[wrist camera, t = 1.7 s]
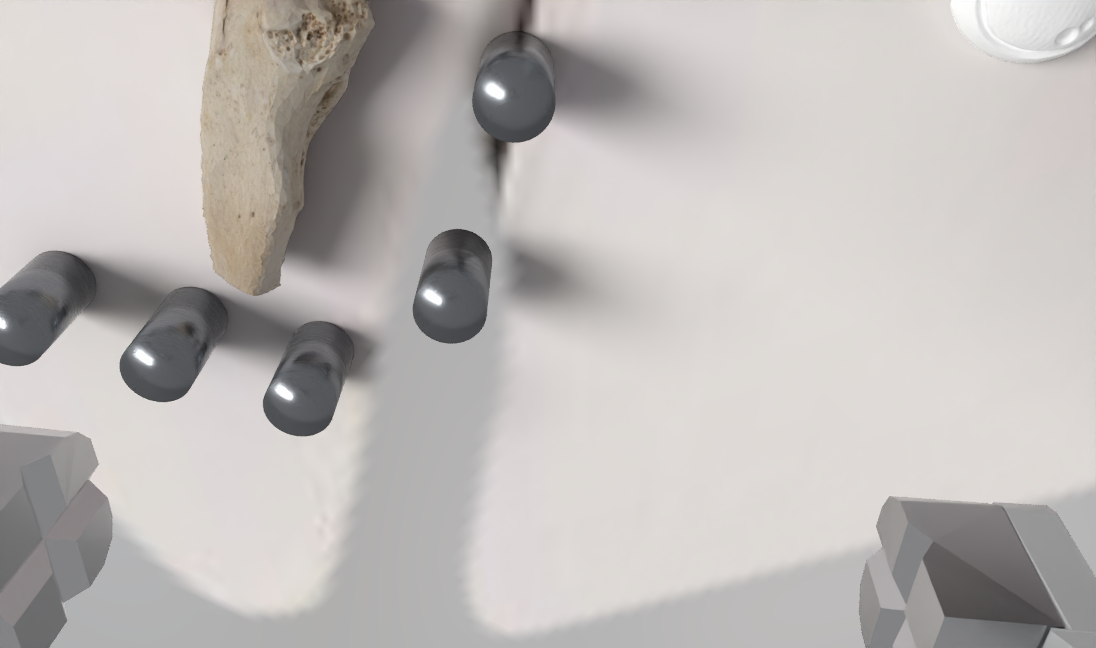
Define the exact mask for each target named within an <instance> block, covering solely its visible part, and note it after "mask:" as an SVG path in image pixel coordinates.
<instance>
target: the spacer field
mask: <svg viewBox="0 0 1096 648" xmlns="http://www.w3.org/2000/svg"><path fill="white" fill-rule="evenodd" d="M472 103H473V110H474V114H475V116H476V119H477V121H478V122H479V124H480V125H481V127H482V128H483V129H484V130H485V131H486V132H487V133H488V134H490V135H491V136H493V137H495V138H497V139H499V140H502V141H505V142H512V143H514V142H524V141H527V140H530V139H532V138H534V137H536V136H538V135H539V134H540V133H541V132H543V131H544V130H545V129H546V127H547V126H548V125H549V123H550V121H551V119H552V117H553V114H554V110H555V88H554V72H553V62H552V58H551V55H550V53H549V51H548V49H547V47H546V46H545V45H544V44H543V43H542V42H541V41H540V40H539V39H538V38H536V37H535V36H533V35H531V34H528V33H525V32H519V31H513V32H507V33H504V34H502V35H499V36H498V37H496V38H495V39H493V40H492V41H491V42H490V43H489V44H488V46H487V47H486V48H485V50H484V52H483V54H482V57H481V61H480V66H479V70H478V74H477V79H476V83H475V87H474V92H473V99H472ZM491 267H492V255H491V251H490V249H489V247H488V245H487V244H486V242H485V241H484V240H483V239H482V238H481V237H479V236H478V235H477V234H475V233H473V232H470V231H467V230H462V229H453V230H448V231H445V232H443V233H441V234H439V235H438V236H437V237H435V238H434V239H433V240H432V241H431V243H430V244H429V246H428V249H427V252H426V256H425V260H424V264H423V268H422V272H421V276H420V280H419V284H418V287H417V291H416V296H415V299H414V304H413V315H414V319H415V322H416V323H417V325H418V327H419V328H420V330H421V331H422V332H424V334H426V335H427V336H428V337H430V338H432V339H434V340H436V341H439V342H443V343H460V342H464V341H466V340H469V339H471V338H472V337H474V336H475V335H476V334H477V333H479V331H480V330H481V329H482V327H483V326H484V323H485V321H486V316H487V306H488V296H489V287H490V277H491ZM95 293H96V282H95V278H94V276H93V274H92V272H91V271H90V269H89V268H88V267H87V266H86V265H85V264H84V263H83V262H82V261H81V260H80V259H78V258H76V257H75V256H73V255H71V254H68V253H65V252H60V251H48V252H44V253H42V254H39V255H38V256H36V257H35V258H34V259H33V260H32V261H31V262H29V263H28V264H27V265H26V266H25V267H24V268H23V269H22V270H20V271H19V272H18V273H17V274H16V275H15V276H14V277H12V278H11V279H10V280H9V281H8V282H7V283H6V284H4V285H3V286H2V287H1V288H0V363H2V364H5V365H10V366H24V365H28V364H31V363H33V362H35V361H36V360H37V359H39V358H40V357H41V355H42V354H43V353H44V352H45V351H46V350H47V349H48V348H49V347H50V346H51V345H52V344H53V342H54V341H55V340H56V339H57V338H58V337H59V336H60V335H61V334H62V333H63V332H64V330H65V329H66V328H67V327H68V326H69V325H70V324H71V323H72V322H73V321H74V320H75V318H76V317H77V316H78V315H79V314H80V313H81V312H82V311H83V310H84V309H85V308H86V307H87V305H88V304H89V303H90V302H91V301H92V300H93V298H94V296H95ZM227 323H228V317H227V313H226V310H225V308H224V306H223V304H222V303H221V302H220V301H219V299H217V298H216V297H215V296H214V295H213V294H211V293H209V292H208V291H205V290H203V289H200V288H195V287H183V288H179V289H177V290H174V291H173V292H171V293H170V294H169V295H168V296H167V297H166V298H165V300H164V301H163V302H162V304H161V305H160V306H159V308H158V309H157V310H156V311H155V313H154V314H153V315H152V317H151V318H150V319H149V321H148V322H147V323H146V324H145V326H144V327H143V328H142V330H141V331H140V332H139V334H138V335H137V336H136V337H135V339H134V340H133V341H132V343H131V344H130V345H129V346H128V348H127V349H126V350H125V352H124V353H123V355H122V357H121V359H120V372H121V375H122V378H123V380H124V381H125V383H126V384H127V385H128V387H129V388H130V389H131V390H133V391H134V392H135V393H136V394H138V395H140V396H142V397H143V398H146V399H148V400H152V401H157V402H170V401H174V400H177V399H179V398H181V397H183V396H184V395H185V394H186V393H187V392H188V391H189V389H190V388H191V386H192V384H193V383H194V381H195V379H196V378H197V376H198V375H199V373H200V371H201V370H202V368H203V366H204V365H205V363H206V361H207V360H208V358H209V356H210V355H211V353H212V351H213V350H214V348H215V346H216V345H217V343H218V342H219V340H220V338H221V337H222V335H223V333H224V332H225V330H226V327H227ZM353 355H354V349H353V344H352V341H351V339H350V338H349V336H348V335H347V334H346V333H345V332H344V331H343V330H342V329H341V328H339V327H337V326H336V325H333V324H331V323H327V322H321V321H317V322H310V323H307V324H304V325H303V326H301V327H300V328H298V329H297V330H296V331H295V333H294V334H293V336H292V338H291V340H290V343H289V345H288V347H287V349H286V351H285V353H284V355H283V357H282V360H281V362H280V364H279V366H278V368H277V370H276V372H275V374H274V377H273V379H272V381H271V383H270V385H269V387H268V389H267V391H266V394H265V396H264V399H263V408H264V412H265V414H266V416H267V418H268V420H269V421H270V422H271V423H272V424H273V425H274V426H275V427H276V428H278V429H279V430H281V431H283V432H285V433H287V434H290V435H295V436H311V435H314V434H317V433H319V432H321V431H323V430H324V429H325V428H326V427H327V426H328V425H329V424H330V422H331V420H332V417H333V415H334V412H335V409H336V406H337V403H338V400H339V397H340V394H341V391H342V388H343V385H344V382H345V379H346V376H347V373H348V370H349V368H350V365H351V362H352V359H353Z"/></svg>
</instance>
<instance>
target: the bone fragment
mask: <svg viewBox="0 0 1096 648" xmlns="http://www.w3.org/2000/svg"><path fill="white" fill-rule="evenodd" d="M368 3H369V0H215V5H214V15H213V23H212V32H211V41H210V51H209V57H208V60H207V64H206V68H205V75H204V82H203V87H202V90H203V97H202V109H201V118H200V121H201V133H200V137H201V147H202V163H201V169H202V188H203V208H202V209H203V210H204V212H203V216H204V217H205V223H206V226H207V234H208V240H209V246H210V249H211V255H210V256H211V259H212V260H213V270H215V273H217V274H218V275H219V276H221V277H222V278H223V279H224V280H225V281H226V282H227V283H229V284H230V285H232V286H234V287H235V288H237V289H239V290H241V291H243V292H245V293H247V294H250V295H253V296H257V295H262V294H264V293H267V292H269V291H271V290H273V289H275V288H276V287H278V286H280V285H281V284H280V277H281V270H280V269H281V266H282V264H283V262H284V260H285V259H284V256H285V252H286V248H287V244H288V241H289V238H290V236H291V234H292V232H293V229H294V227H295V220H296V217H297V214H298V212H299V211H300V210H302V208H303V206H304V204H305V202H304V187H303V182H304V166H305V162H306V154H307V150H308V146H309V143H310V141H311V139H312V138H313V136H314V134H315V132H316V131H317V130H318V129H319V127H320V126H321V124H322V123H323V121H324V119H325V118H326V116H327V115H328V114H329V113H330V112H331V111H332V110H333V108H334V106H335V105H336V104H337V103H338V102H339V100H340V99H341V97H342V96H343V94H344V92H345V90H346V89H347V87H348V79H349V76H350V69H351V68H352V67H353V66H354V64H355V62H356V59H357V57H358V54H359V52H360V50H361V48H362V46H363V44H364V43H365V41H366V40H367V38H368V35H369V33H370V32H371V31H372V29H373V28H374V25H375V21H374V19H373V16H372V12H371V10H370V8H369V4H368Z"/></svg>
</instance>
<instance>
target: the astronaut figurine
mask: <svg viewBox="0 0 1096 648" xmlns="http://www.w3.org/2000/svg"><path fill="white" fill-rule="evenodd" d="M951 11H952V14H953V17H954V20H955V22H956V24H957V26H958V28H959V30H960V32H961V33H962V35H963V36H964V37H965V38H966V39H967V40H968V41H969V42H970V43H971V44H972V45H973V46H975V47H976V48H977V49H979V50H980V51H982V52H983V53H985V54H987V55H989V56H991V57H993V58H996V59H999V60H1003V61H1008V62H1014V63H1037V62H1042V61H1047V60H1051V59H1054V58H1057V57H1060V56H1063V55H1065V54H1067V53H1070V52H1072V51H1074V50H1076V49H1078V48H1079V47H1081V46H1083V45H1084V44H1085V43H1087V42H1088V41H1089V40H1090V39H1091V38H1092V37H1094V36H1095V35H1096V0H952V2H951Z"/></svg>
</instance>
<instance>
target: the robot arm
mask: <svg viewBox="0 0 1096 648" xmlns="http://www.w3.org/2000/svg"><path fill="white" fill-rule="evenodd" d="M98 465H99V464H98V460H97V457H96V454H95V451H94V448H93V445H92V442H91V439H90V438H88V437H86V436H84V435H82V434H80V433H78V432H70V431H60V430H51V429H41V428H31V427H21V426H11V425H1V424H0V648H49V647H50V645H51V644H52V642H53V641H54V640H55V638H56V637H57V635H58V634H59V632H60V631H61V629H62V628H63V626H64V625H65V623H66V622H67V617H66V612H65V606H64V602H65V601H67V600H69V599H70V598H72V597H74V596H75V595H77V594H79V593H80V592H82V591H84V590H85V589H87V588H89V587H90V586H91V584H92V583H93V581H94V580H95V578H96V577H97V575H98V574H99V572H100V570H101V569H102V567H103V566H104V563H105V560H106V557H107V553H108V550H109V547H110V543H111V540H112V513H111V509H110V505H109V501H108V498H107V497H106V496H105V495H104V494H103V493H102V492H101V491H100V490H99V489H98V488H97V487H96V486H95V485H94V484H93V483H92V482H91V481H90V480H89V479H90V477H91V476H92V474H93V472H94V471H95V469H96V468H97V466H98ZM876 527H877V530H878V534H879V537H880V540H881V543H882V546H883V548H881V549H880V550H879V551H877V552H876V553H875V554H873V555H872V556H871V557H869V558H868V559H867V560H866V564H865V568H864V572H863V576H862V580H861V584H860V602H859V603H860V605H859V615H860V623H861V631H862V636H863V639H864V643H865V647H866V648H1096V577H1095V575H1094V574H1093V572H1092V570H1091V569H1090V567H1089V565H1088V564H1087V562H1086V560H1085V559H1084V557H1083V555H1082V554H1081V552H1080V550H1079V549H1078V547H1077V545H1076V544H1075V542H1074V540H1073V539H1072V537H1071V535H1070V534H1069V532H1068V530H1067V529H1066V527H1065V525H1064V524H1063V522H1062V520H1061V519H1060V517H1059V515H1058V514H1057V513H1056V512H1055V511H1054V510H1052V509H1051V508H1049V507H1048V506H1047V505H1031V504H1013V503H995V502H994V503H992V504H988V503H977V502H963V501H950V500H936V499H922V498H908V497H894V496H889V498H888V499H887V501H886V502H885V504H884V505H883V507H882V509H881V512H880V516H879V519H878V522H877V525H876Z"/></svg>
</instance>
